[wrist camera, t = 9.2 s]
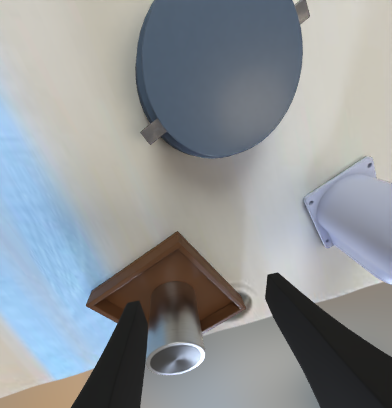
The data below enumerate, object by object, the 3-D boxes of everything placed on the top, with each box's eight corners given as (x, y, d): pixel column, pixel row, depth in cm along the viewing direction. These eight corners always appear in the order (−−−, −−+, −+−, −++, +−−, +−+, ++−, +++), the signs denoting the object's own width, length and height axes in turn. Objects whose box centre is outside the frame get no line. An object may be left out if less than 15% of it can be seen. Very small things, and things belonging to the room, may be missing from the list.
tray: (241, 296, 27) (246, 308, 25) (170, 338, 29) (170, 352, 27) (177, 230, 20) (178, 242, 19) (91, 290, 22) (85, 305, 20)
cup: (203, 296, 25) (216, 356, 19) (170, 316, 26) (171, 381, 20) (177, 273, 22) (181, 334, 16) (141, 297, 23) (132, 364, 17)
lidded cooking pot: (297, 100, 16) (347, 95, 12) (187, 181, 18) (194, 203, 14) (239, -64, 12) (286, -177, 7) (97, 68, 13) (63, 44, 9)
